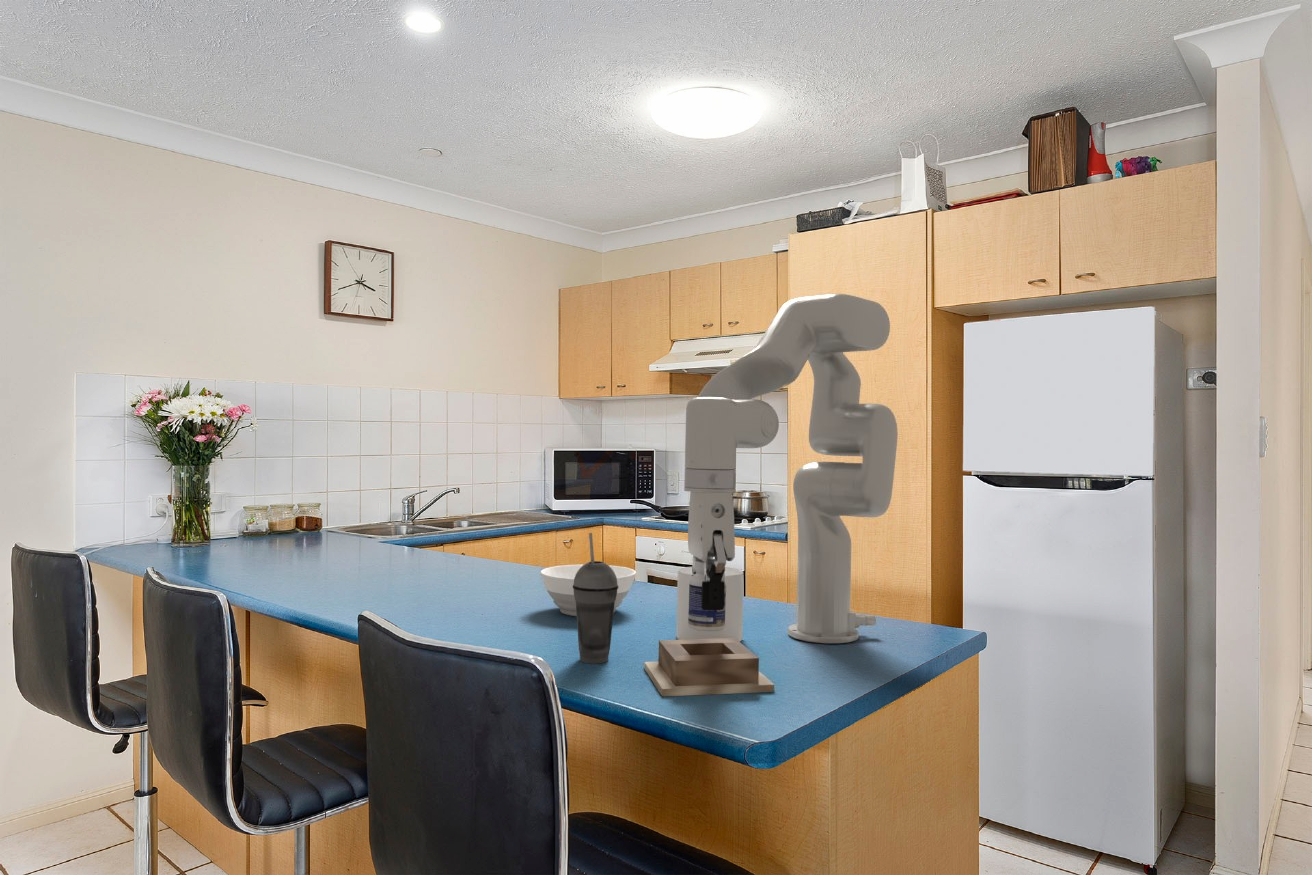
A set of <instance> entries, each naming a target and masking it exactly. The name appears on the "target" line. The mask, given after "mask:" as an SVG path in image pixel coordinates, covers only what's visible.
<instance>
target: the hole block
mask: <svg viewBox="0 0 1312 875" xmlns="http://www.w3.org/2000/svg"><path fill="white" fill-rule="evenodd" d="M643 664H644V665H643V666H644V668H643V669H644V670H645V672H646V673H647V675H648V677H649V678H650V679H651V681H652V683H653V685H654V686H655V688H656V689H657V690H658V692H659V693H660V695H661V696H662V697H679V696H683V697H684V696H705V695H727V694H730V695H731V694H753V693H756V694H757V693H770V692H771V693H775V683H773V681H771V680H770V679H769V678H768V677H767V676H766V675H764V674H763V673H762V672H761V671H760V668H759V667H760V658H759V657H758V656H757V655H755V654H754V652H752V651H751V650H750V649H749V648H747V647H746V646H745V645H744V644H743V643H742V642H739V641H738V640H736V639H735V638H719V639H683V640H679V639H659V640H658V660H657V661H656V660H655V661H644V663H643Z"/></svg>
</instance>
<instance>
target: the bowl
mask: <svg viewBox="0 0 1312 875" xmlns="http://www.w3.org/2000/svg"><path fill="white" fill-rule="evenodd" d="M584 564H585V563H584ZM584 564H581V563H580V564H566V565H565V564H564V565H556V566H555V565H554V566H549V567H546V568H543V569H541V570H540V576H541V579H542V583H543V584H544V588H545V589H546V592H547V593H548V595H549V596H550V597H551V599H552V600H553V603H554V605H556V607H558V608H559V612H561V613H562V614H564V615H567V616H571V617H577V613H576V600H575V597H574V589H573V585H574V578H575V576H576V573H577V572H578V570H579V569H580V568H581V567H582V566H583V565H584ZM608 565H609V564H608ZM609 566H610V567H611V568H612V570H613V571H614V573H615V575H616V578H617V585H618V589H617V596H616V600H615V604H614V613H615V612H616V610H617V609H616V608H619V606H620V605H622V603H623V600H624V599H625V598H626V597H627V595H628V593H629V591H630V589H631V588H632V585H633V583H634V580H635V577H636V575H637V571H636V570H635V569H632V568H630V567H626V566H619V565H609Z"/></svg>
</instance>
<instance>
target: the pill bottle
mask: <svg viewBox="0 0 1312 875" xmlns="http://www.w3.org/2000/svg"><path fill="white" fill-rule="evenodd" d="M710 567H711V565H709V572H710ZM694 569H695V571H696V574H695V575H693V576H692V577H691V578H690V581H689V614H688V625H689V627H690V628H691V629H694V630H698V631H720V630H722V629H724V627H725V604H726V580H725V588H724V609H723V610H703V609H702V607H701V605H702V581H705V580H704V564H703V561H702V560H696V561H695V566H694Z"/></svg>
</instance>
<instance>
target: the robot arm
mask: <svg viewBox="0 0 1312 875" xmlns="http://www.w3.org/2000/svg"><path fill="white" fill-rule="evenodd" d="M890 330H891V322H890V317H889V314H888V313H887V311H886V309H885V308H884V307H883V306H882V305H881V303H879V302H876V301H874V300H870V299H866V298H863V297H860V296H856V295H851V294H846V293H832V294H821V295H813V296H812V295H811V296H803V297H798V298H794V299H790V300H788V301H787V302H785V303H784V304H783V305H782V306H781V307H780V309H779V310H778V311H777V313H776V314H775V316H774V317H773V319H772V321H771V322H770V324H769V325H768V327H767V329H766V330H765V332H764V333H763V335H762V336H761V338H760V339H759V341H758V343H757V344H756V346H755V347H754V349H753V350H752V351H749V352H748V353H746V354H744V355H742V356H741V357H739V358H738V359H736V360H735V361H733V362H732V363H730V364H729V365H727V366H726V367H725V368H723V369H721V370H720V371H719V372H717V373H716V374H715V375H713V376H712V377H711V378H710V379H709V380H708V382H706V384H705V385H704V387H703V388H702V389H701V390H700V392H699V394H698V395H697V397H694V398H691V399H689V401H688V402H687V405H686V407H685V408H686V409H685V439H684V440H685V441H684V442H685V443H684V444H685V445H684V447H685V448H684V450H685V451H684V480H683V482H684V483H683V484H684V488H683V489H684V492H690V493H689V502H688V505H689V506H688V521H687V523H688V526H687V545H688V552H689V553H690V555H692V556H693V557H692V566H691V567H692V574H696V571H695V569H694V566H695V561H696V560H702V561H703V564H704V580H705V581H702V605H701V607H702V609H703V610H723V609H724V588H725V567H726V566H727V562H732V561H733V560H734V559H735V557H736V546H735V545H736V542H735V539H736V538H735V536H736V534H735V510H734V509H735V508H734V499H733V493H736V483H737V481H736V480H737V478H736V477H737V470H736V469H737V449H759V448H763V447H765V446H768V445H769V444H771V443H772V442H773V441H774V440H775V438H776V436H777V434H778V432H779V428H780V427H779V426H780V424H779V422H780V421H779V417H778V416H779V415H778V414H777V412H776V409H774V406H772V405H771V404H770V403H768V402H766V401H763V400H761V399H756V398H758V397H761V396H764V395H767V394H770V393H773V392H775V391H777V390H781V389H783V388H784V387H786V386H789V385H790V384H793V383H794V382H795V380H797V378H798V377H799V376H800V374H801V372H802V371H803V369H804V367H805V365H806V363H807V362H808V363H809V365H810V367H811V371H812V375H813V376H812V377H813V394H812V400H811V410H810V418H809V427H808V443H809V446H810V448H811V449H812V450H813V451H814V452H815V453H817V454H821V455H823V456H824V455H825V456H831V457H832V456H836V457H839V456H840V457H862V462H845V461H844V462H842V461H814V462H810V463H809V462H808V463H806V464H804V465H802V466H801V467H800V468H799V469H797V471H796V473H795V475H794V477H793V482H792V483H793V484H792V487H793V498H794V502H795V509H796V515H797V516H796V518H797V576H796V577H797V582H796V583H797V587H796V588H797V590H796V623H794V624H791V625H789V626H788V627H787V633H788V634H787V635H788V636H790V637H792V638H793V639H796V640H800V641H804V642H809V643H818V644H847V643H851V642H855V641H857V640H858V639H859V637H860V636H859V635H860V632H859V630H857V629H859V628H860V627H862V626H863V627H864V626H865V627H875V626H876V624H877V619H876V618H877V617H876V616H875V615H874V614H873V615H872V614H871V615H870V614H867V615H866V614H865V615H863V614H862V613H861V614H860V613H856V612H853V610H851V595H852V594H851V589H852V588H851V586H852V585H851V583H852V582H851V581H852V578H851V577H852V574H851V573H852V538H851V536H850V533H849V530H848V528H847V526H846V524H845V523H844V521H843V520H842V518H841V517H856V518H879V517H881V516H883V515H884V514H885V513H887V511H888V509H889V507H890V504H891V501H892V495H893V489H894V488H893V487H894V479H895V478H894V477H895V468H896V466H895V465H896V459H897V458H896V457H897V448H898V434H899V433H898V425H897V424H898V423H897V420H896V416H895V414H894V413H893V411H892V410H891V408H889V407H888V406H886V405H884V404H880V403H860V399H861V398H860V396H861V388H862V387H861V386H862V382H861V376H860V374H859V372H858V371H857V369H856V367H855V366H854V364H853V363H852V362H851V361H850V359H849V358H848V356H846V355H845V354H844V353H852V352H853V353H855V352H867V351H868V352H869V351H876V350H878V349H881V348H882V347H883V346H885V344H886V342H887V341H888V340H889V336H890V332H891V331H890ZM713 558H714V559H713ZM709 565H711V567H710V572H709ZM692 576H693V575H692Z"/></svg>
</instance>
